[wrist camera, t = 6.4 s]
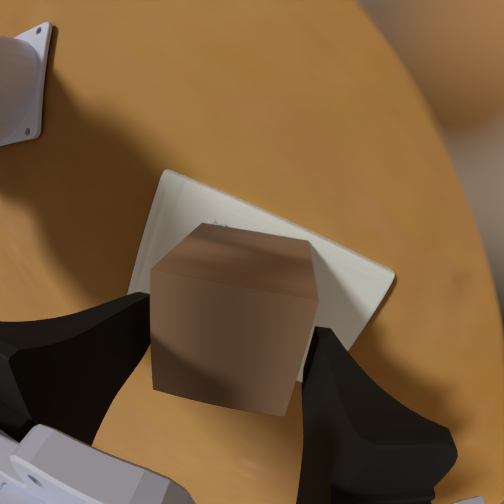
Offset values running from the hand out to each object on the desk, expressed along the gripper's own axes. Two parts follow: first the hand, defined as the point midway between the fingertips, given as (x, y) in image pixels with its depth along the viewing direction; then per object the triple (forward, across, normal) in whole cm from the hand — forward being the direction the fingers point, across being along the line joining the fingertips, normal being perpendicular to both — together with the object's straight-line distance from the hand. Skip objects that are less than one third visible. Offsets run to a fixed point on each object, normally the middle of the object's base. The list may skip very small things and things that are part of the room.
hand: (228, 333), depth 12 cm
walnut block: (+4, 0, 0) cm, 4 cm away
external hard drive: (+6, 0, 0) cm, 6 cm away
